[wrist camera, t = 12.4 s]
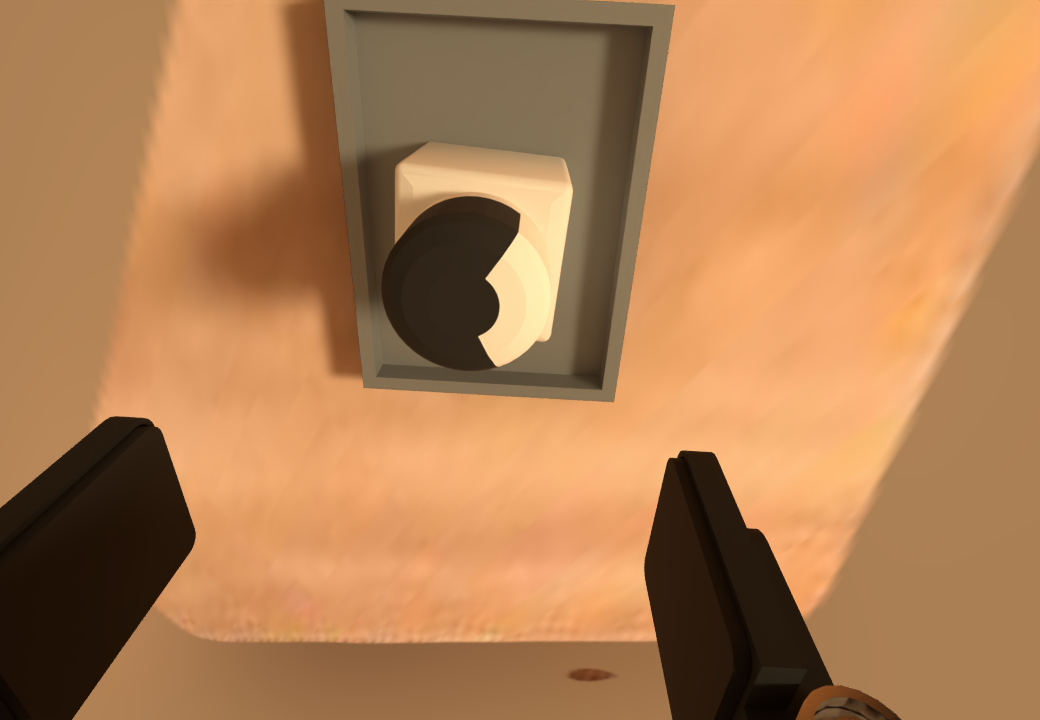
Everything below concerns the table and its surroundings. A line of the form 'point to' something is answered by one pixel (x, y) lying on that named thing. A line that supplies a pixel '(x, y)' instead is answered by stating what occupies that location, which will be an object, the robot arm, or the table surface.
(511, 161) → the medicine bottle
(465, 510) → the table surface
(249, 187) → the table surface
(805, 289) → the table surface
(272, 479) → the table surface
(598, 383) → the gray tray
